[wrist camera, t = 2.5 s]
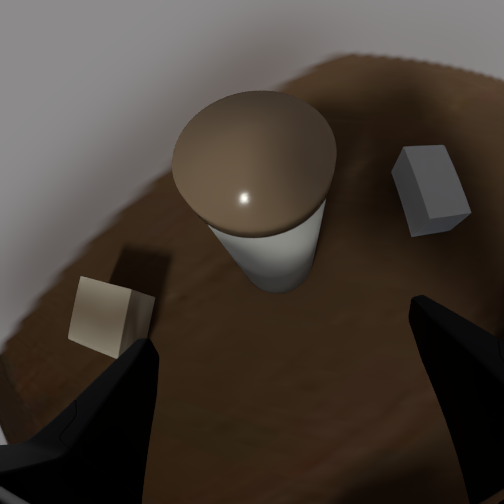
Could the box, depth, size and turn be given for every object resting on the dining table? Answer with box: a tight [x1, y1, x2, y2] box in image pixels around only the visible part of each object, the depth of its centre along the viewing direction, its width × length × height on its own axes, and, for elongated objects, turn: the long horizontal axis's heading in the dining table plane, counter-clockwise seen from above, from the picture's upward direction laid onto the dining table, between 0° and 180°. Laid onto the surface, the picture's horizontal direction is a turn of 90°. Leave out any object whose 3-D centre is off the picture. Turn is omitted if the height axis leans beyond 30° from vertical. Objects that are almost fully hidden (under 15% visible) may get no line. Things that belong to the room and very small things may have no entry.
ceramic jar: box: [172, 91, 337, 294], centre depth 16 cm, size 5×5×14 cm
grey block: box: [391, 145, 471, 237], centre depth 20 cm, size 6×4×4 cm, turn 7°
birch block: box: [68, 276, 155, 359], centre depth 21 cm, size 5×5×4 cm
